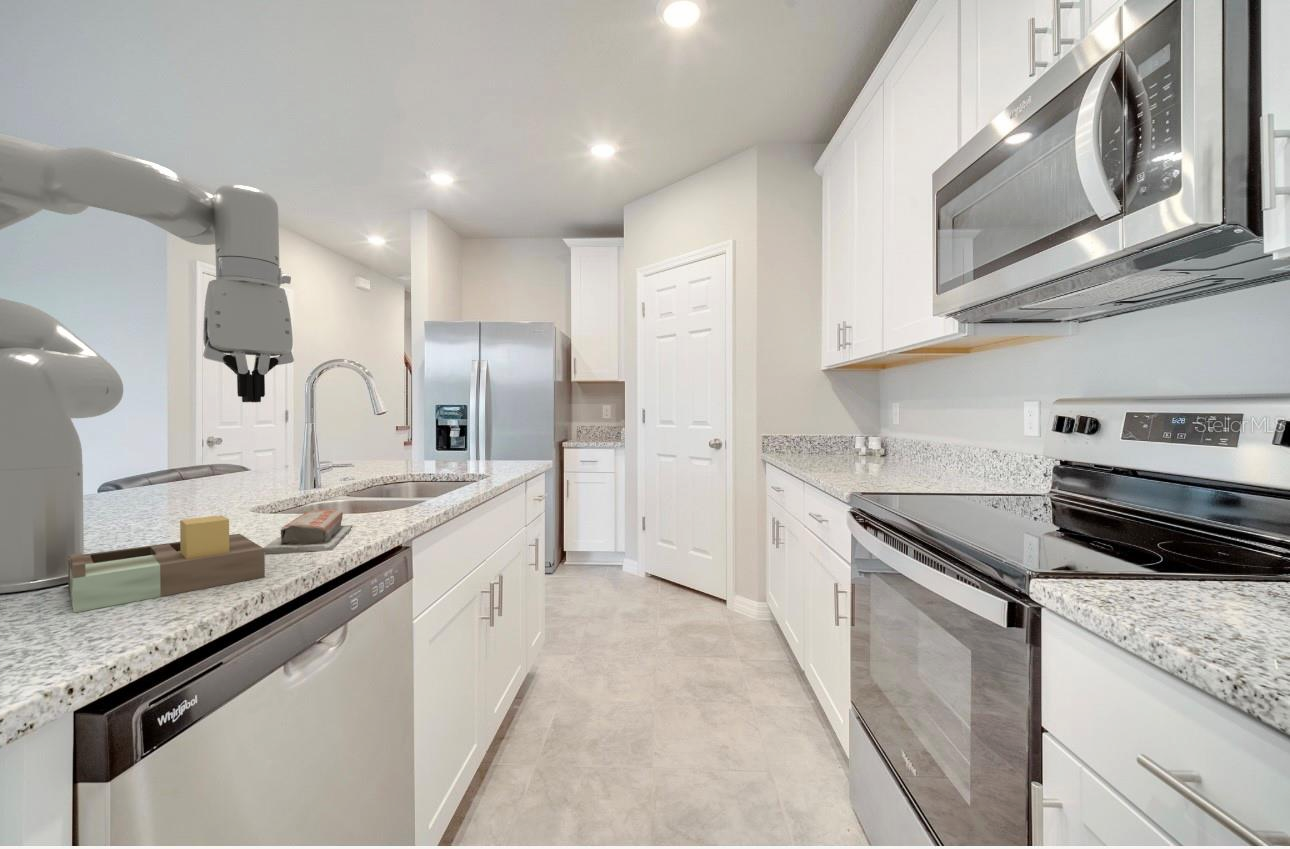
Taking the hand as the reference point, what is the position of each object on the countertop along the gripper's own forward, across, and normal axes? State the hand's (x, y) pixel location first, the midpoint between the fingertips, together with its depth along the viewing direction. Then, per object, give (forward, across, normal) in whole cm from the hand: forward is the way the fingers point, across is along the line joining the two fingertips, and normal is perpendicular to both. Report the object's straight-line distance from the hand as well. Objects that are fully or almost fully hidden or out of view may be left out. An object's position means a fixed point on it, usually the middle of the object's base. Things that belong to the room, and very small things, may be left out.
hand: (251, 401), depth 79 cm
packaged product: (+26, -12, -14) cm, 31 cm away
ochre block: (+21, +6, +2) cm, 22 cm away
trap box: (+25, +9, -2) cm, 26 cm away
